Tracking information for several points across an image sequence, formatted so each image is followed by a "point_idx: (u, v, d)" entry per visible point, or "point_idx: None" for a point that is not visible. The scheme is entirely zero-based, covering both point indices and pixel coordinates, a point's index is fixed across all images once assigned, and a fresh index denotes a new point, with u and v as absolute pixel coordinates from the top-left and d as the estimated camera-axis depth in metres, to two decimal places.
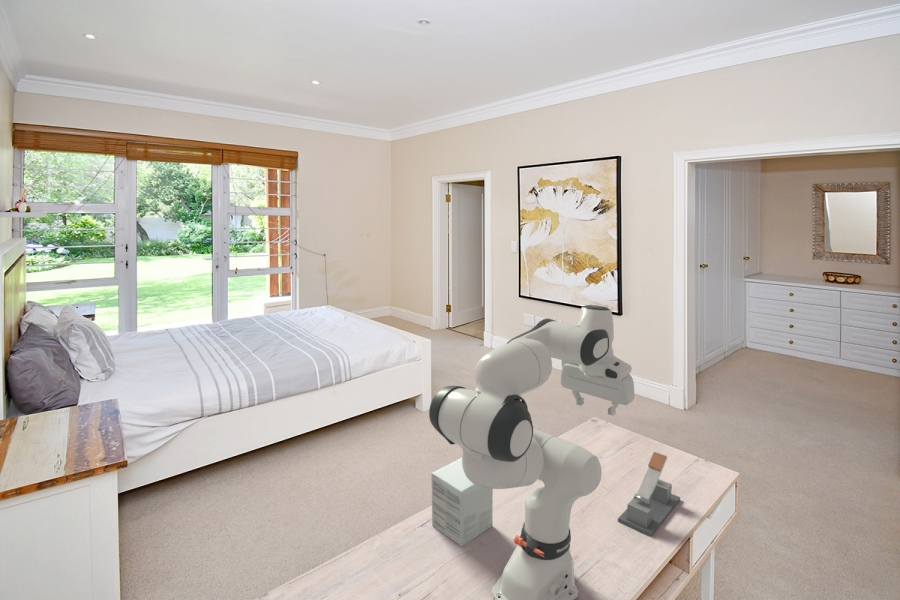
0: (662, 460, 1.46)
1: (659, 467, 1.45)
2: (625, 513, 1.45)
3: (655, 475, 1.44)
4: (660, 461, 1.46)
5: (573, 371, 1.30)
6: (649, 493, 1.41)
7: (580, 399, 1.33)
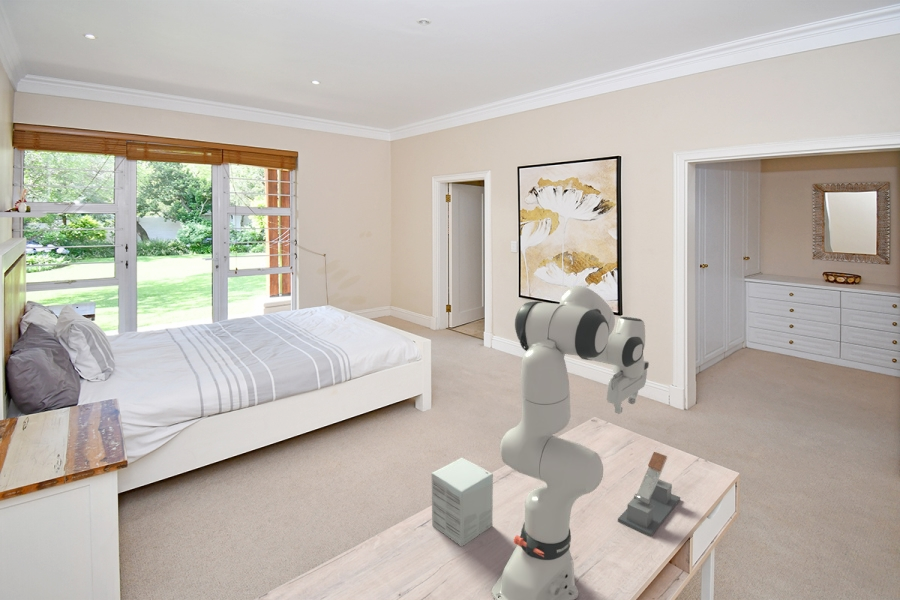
0: (662, 460, 1.46)
1: (659, 467, 1.45)
2: (625, 513, 1.45)
3: (655, 475, 1.44)
4: (660, 461, 1.46)
5: (624, 383, 1.43)
6: (649, 493, 1.41)
7: None
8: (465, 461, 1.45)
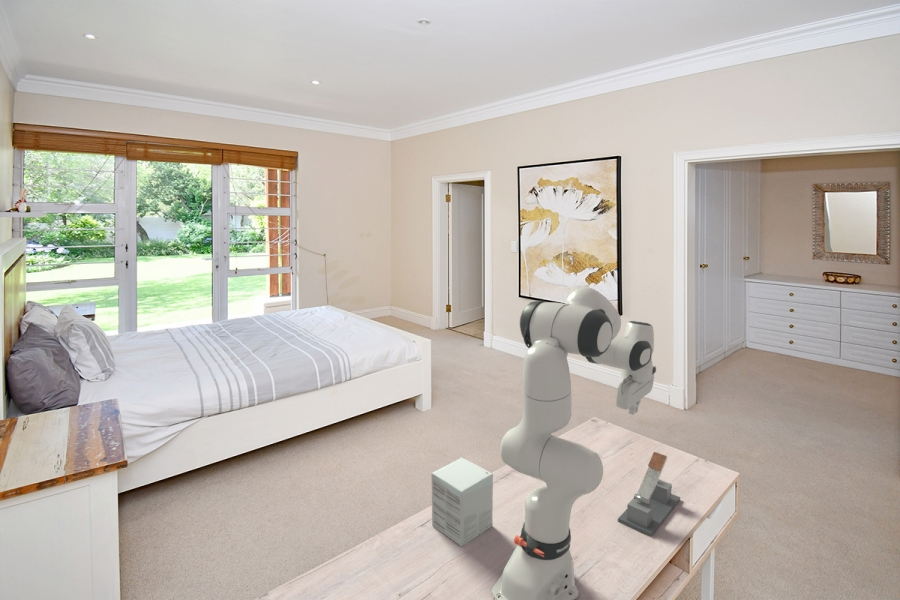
0: (662, 460, 1.46)
1: (659, 467, 1.45)
2: (625, 513, 1.45)
3: (655, 475, 1.44)
4: (660, 461, 1.46)
5: (633, 388, 1.42)
6: (649, 493, 1.41)
7: None
8: (465, 461, 1.45)
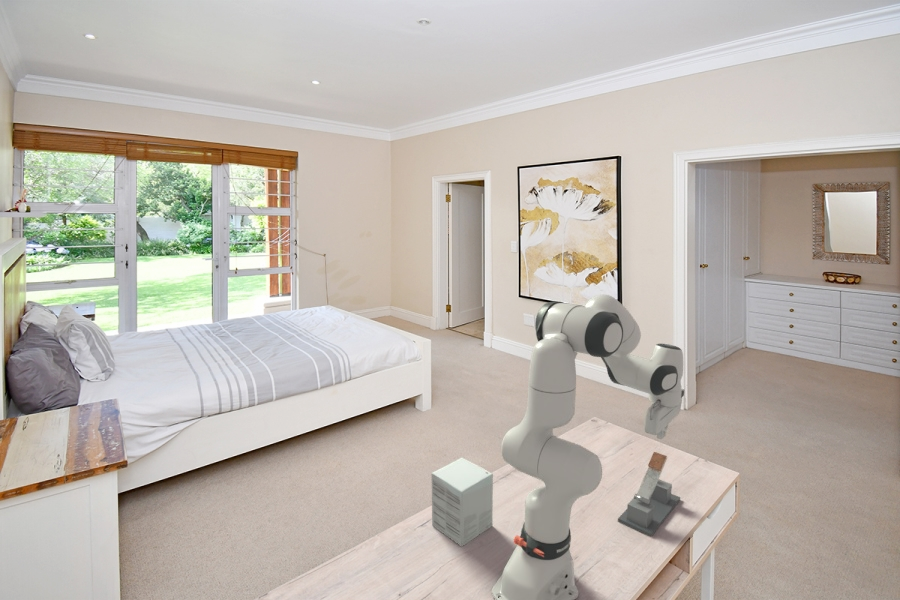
0: (662, 460, 1.46)
1: (659, 467, 1.45)
2: (625, 513, 1.45)
3: (655, 475, 1.44)
4: (660, 461, 1.46)
5: (662, 413, 1.39)
6: (649, 493, 1.41)
7: None
8: (465, 461, 1.45)
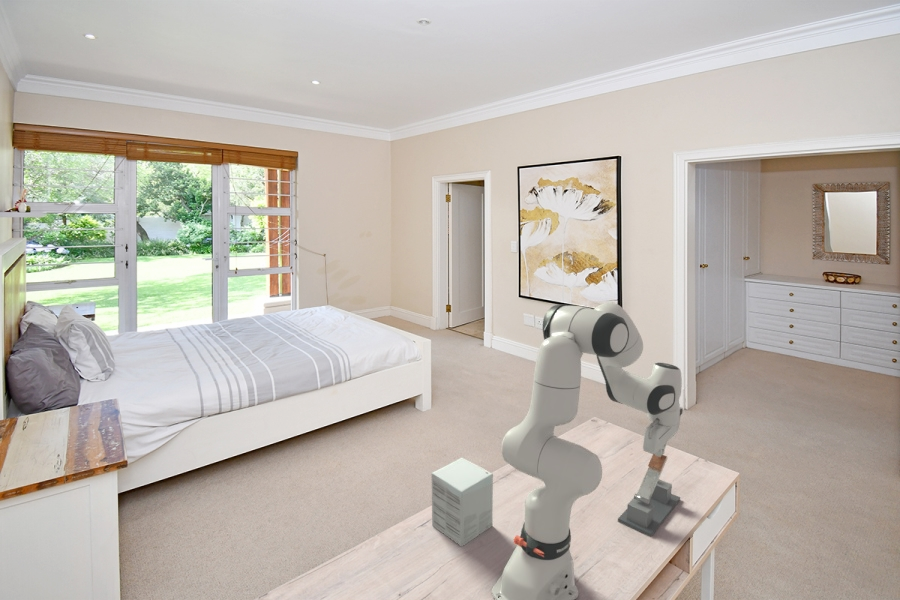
0: (662, 460, 1.46)
1: (659, 467, 1.45)
2: (625, 513, 1.45)
3: (655, 475, 1.44)
4: (660, 462, 1.46)
5: (661, 432, 1.40)
6: (649, 493, 1.41)
7: None
8: (465, 461, 1.45)
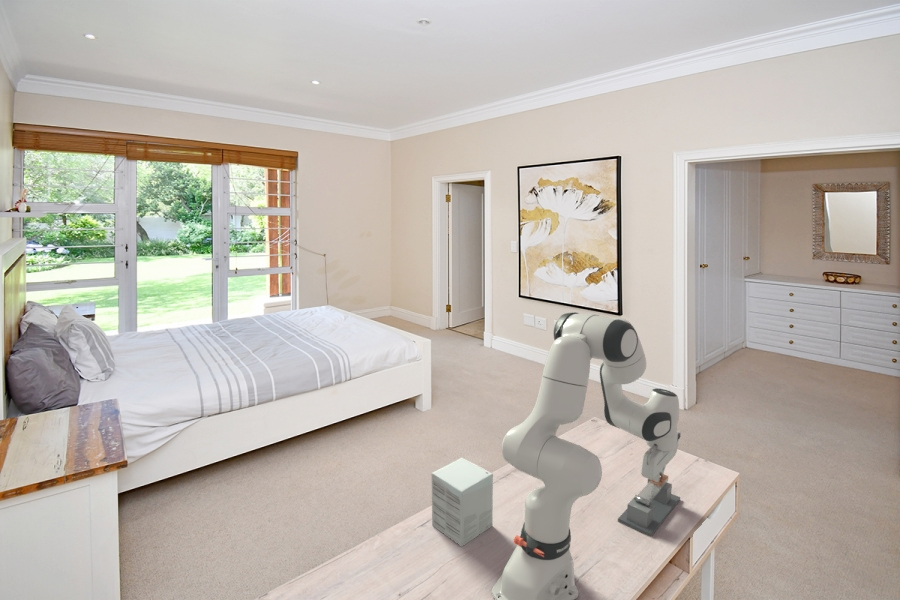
0: (664, 478, 1.50)
1: (661, 481, 1.48)
2: (625, 513, 1.45)
3: (656, 487, 1.47)
4: (662, 478, 1.49)
5: (659, 457, 1.42)
6: (650, 496, 1.42)
7: (658, 475, 1.48)
8: (465, 461, 1.45)
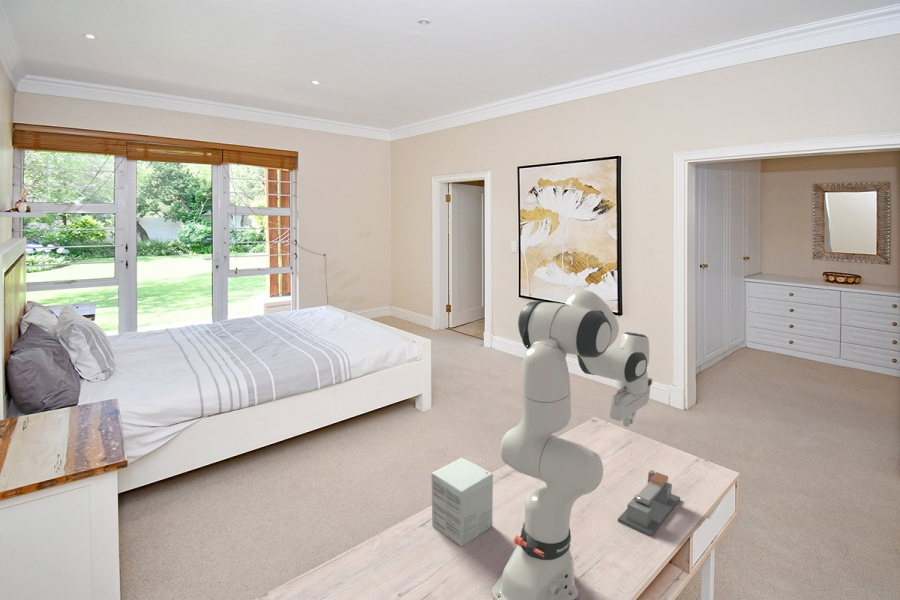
0: (664, 478, 1.50)
1: (661, 481, 1.48)
2: (625, 513, 1.45)
3: (656, 487, 1.47)
4: (662, 478, 1.49)
5: (628, 399, 1.42)
6: (650, 497, 1.42)
7: None
8: (465, 461, 1.45)
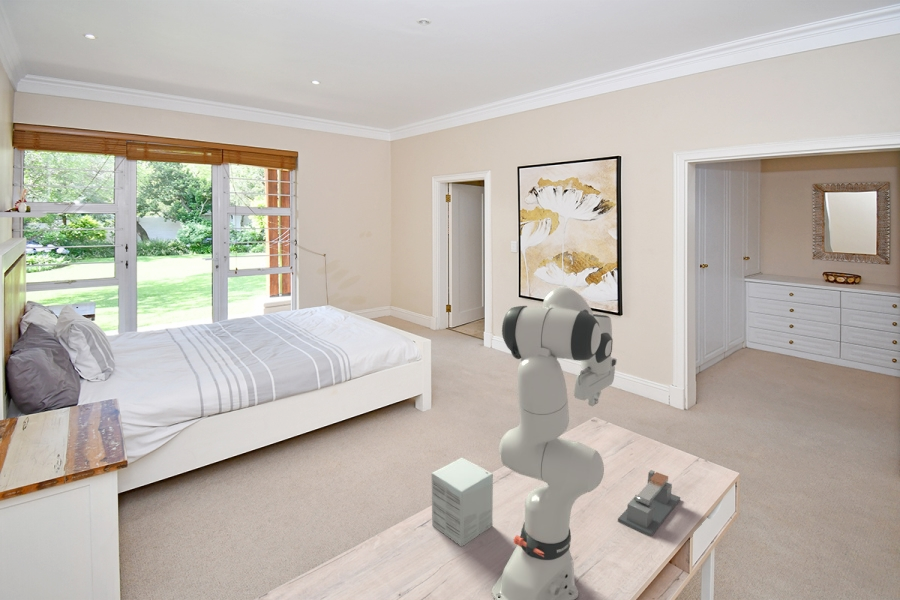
0: (664, 478, 1.50)
1: (661, 481, 1.48)
2: (625, 513, 1.45)
3: (656, 487, 1.47)
4: (662, 478, 1.49)
5: (591, 379, 1.45)
6: (650, 497, 1.42)
7: (593, 400, 1.51)
8: (465, 461, 1.45)
